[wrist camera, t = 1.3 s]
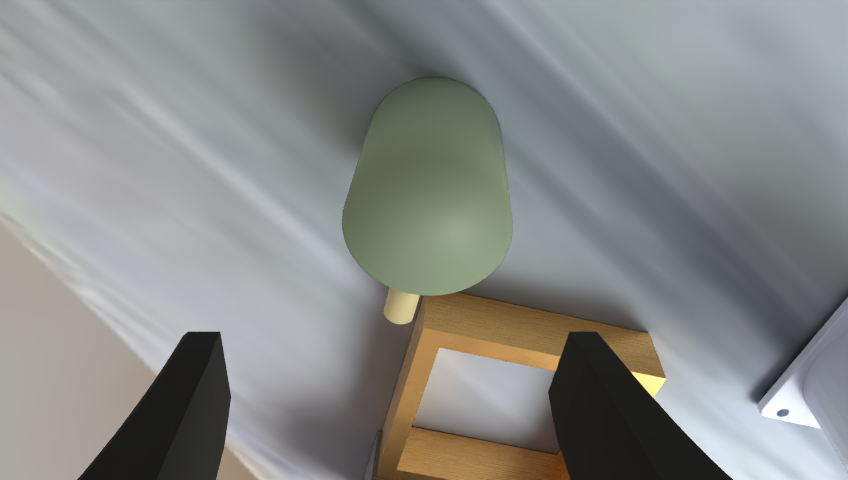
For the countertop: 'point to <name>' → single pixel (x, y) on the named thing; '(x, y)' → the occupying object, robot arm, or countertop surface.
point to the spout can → (429, 194)
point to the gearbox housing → (500, 339)
